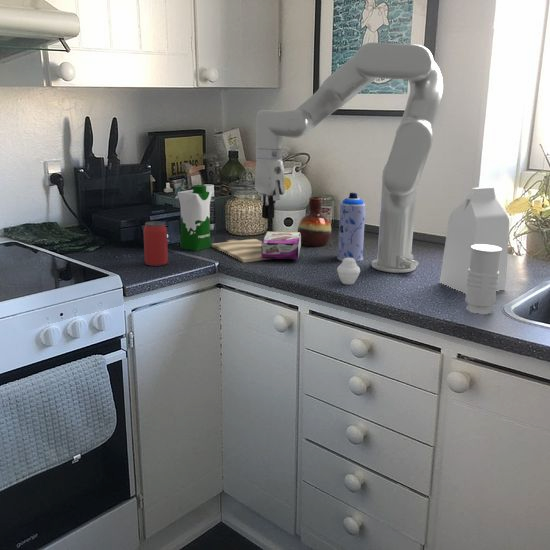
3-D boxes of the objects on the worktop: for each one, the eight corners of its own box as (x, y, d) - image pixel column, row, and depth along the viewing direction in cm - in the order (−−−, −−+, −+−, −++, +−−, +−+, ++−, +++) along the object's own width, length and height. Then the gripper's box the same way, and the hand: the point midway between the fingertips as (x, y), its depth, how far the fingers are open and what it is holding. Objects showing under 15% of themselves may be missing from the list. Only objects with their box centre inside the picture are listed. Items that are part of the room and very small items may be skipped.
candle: (465, 313, 142) (472, 250, 138) (462, 304, 149) (468, 243, 145) (496, 316, 141) (504, 252, 137) (492, 306, 148) (499, 245, 144)
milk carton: (196, 252, 193) (195, 188, 187) (175, 247, 198) (173, 185, 192) (215, 247, 200) (214, 185, 194) (194, 243, 205) (193, 182, 199)
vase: (295, 240, 211) (296, 195, 207) (327, 240, 212) (329, 195, 208) (299, 248, 201) (301, 200, 196) (333, 247, 202) (335, 200, 197)
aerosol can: (335, 255, 192) (337, 191, 187) (359, 255, 193) (363, 191, 187) (339, 262, 185) (342, 195, 179) (365, 261, 185) (369, 195, 180)
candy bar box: (261, 242, 182) (265, 230, 197) (261, 258, 183) (265, 246, 199) (299, 242, 181) (301, 231, 197) (299, 259, 182) (300, 246, 198)
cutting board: (290, 256, 190) (290, 253, 190) (243, 262, 182) (243, 259, 182) (251, 240, 210) (251, 237, 210) (208, 245, 202) (208, 242, 202)
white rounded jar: (347, 287, 160) (348, 261, 158) (331, 281, 165) (332, 256, 163) (364, 283, 164) (366, 258, 162) (348, 278, 168) (350, 253, 167)
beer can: (172, 263, 179) (171, 223, 176) (153, 268, 175) (152, 226, 171) (158, 259, 184) (157, 219, 180) (140, 263, 179) (138, 222, 176)
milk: (468, 295, 156) (479, 192, 148) (439, 282, 166) (448, 185, 158) (505, 290, 160) (518, 190, 153) (475, 278, 170) (485, 183, 163)
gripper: (294, 156, 173) (292, 221, 178) (267, 152, 185) (266, 212, 190) (271, 157, 169) (270, 223, 174) (245, 152, 181) (244, 214, 186)
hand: (268, 217), depth 182 cm, fingers closed
